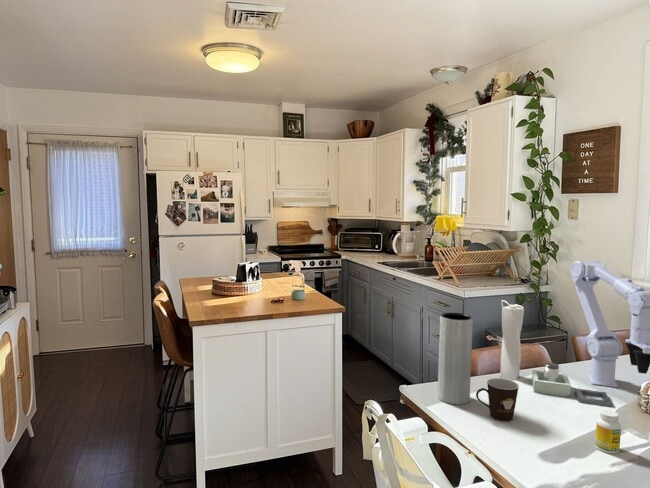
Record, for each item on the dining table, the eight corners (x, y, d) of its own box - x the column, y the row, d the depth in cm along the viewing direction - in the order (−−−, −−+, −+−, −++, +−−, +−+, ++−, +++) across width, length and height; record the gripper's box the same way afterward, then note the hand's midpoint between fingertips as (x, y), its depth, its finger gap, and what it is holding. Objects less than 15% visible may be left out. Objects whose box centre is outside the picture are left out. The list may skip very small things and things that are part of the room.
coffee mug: (516, 412, 139) (517, 380, 138) (518, 425, 131) (519, 391, 130) (475, 406, 142) (476, 375, 142) (475, 418, 134) (476, 385, 134)
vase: (471, 395, 151) (474, 314, 149) (467, 407, 142) (470, 321, 140) (440, 390, 155) (443, 311, 153) (434, 401, 146) (437, 317, 144)
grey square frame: (574, 391, 155) (574, 388, 155) (605, 395, 152) (605, 392, 152) (578, 402, 147) (579, 398, 147) (611, 406, 144) (611, 403, 143)
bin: (532, 380, 164) (532, 370, 164) (565, 385, 160) (566, 374, 160) (533, 392, 154) (534, 380, 154) (570, 397, 150) (570, 385, 150)
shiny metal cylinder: (540, 384, 159) (541, 363, 158) (550, 382, 160) (551, 362, 159) (550, 389, 155) (551, 367, 154) (560, 387, 156) (561, 366, 155)
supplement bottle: (601, 441, 122) (603, 406, 121) (623, 450, 118) (626, 414, 117) (591, 447, 119) (593, 411, 118) (613, 456, 115) (615, 419, 114)
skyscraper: (495, 377, 167) (498, 301, 165) (499, 371, 174) (503, 297, 171) (518, 381, 163) (522, 304, 161) (522, 375, 170) (526, 300, 167)
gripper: (620, 321, 156) (618, 360, 157) (633, 332, 143) (630, 375, 144) (645, 323, 154) (642, 363, 155) (660, 334, 140) (657, 377, 141)
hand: (638, 369), depth 149 cm, fingers open, 7 cm apart
